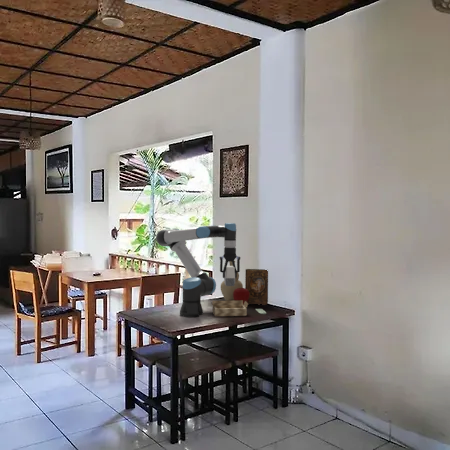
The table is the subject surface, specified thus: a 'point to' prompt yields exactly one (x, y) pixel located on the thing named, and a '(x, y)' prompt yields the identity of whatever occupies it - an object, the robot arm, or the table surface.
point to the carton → (230, 308)
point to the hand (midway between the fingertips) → (229, 283)
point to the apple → (241, 294)
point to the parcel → (230, 276)
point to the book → (257, 286)
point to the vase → (230, 288)
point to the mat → (261, 311)
